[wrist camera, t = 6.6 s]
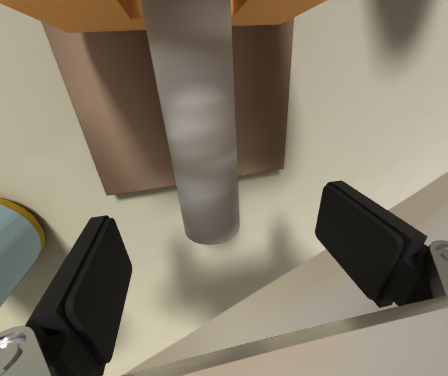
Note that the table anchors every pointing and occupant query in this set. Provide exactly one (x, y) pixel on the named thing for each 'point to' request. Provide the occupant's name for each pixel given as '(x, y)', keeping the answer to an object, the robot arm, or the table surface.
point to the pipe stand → (182, 105)
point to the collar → (133, 14)
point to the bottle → (17, 245)
